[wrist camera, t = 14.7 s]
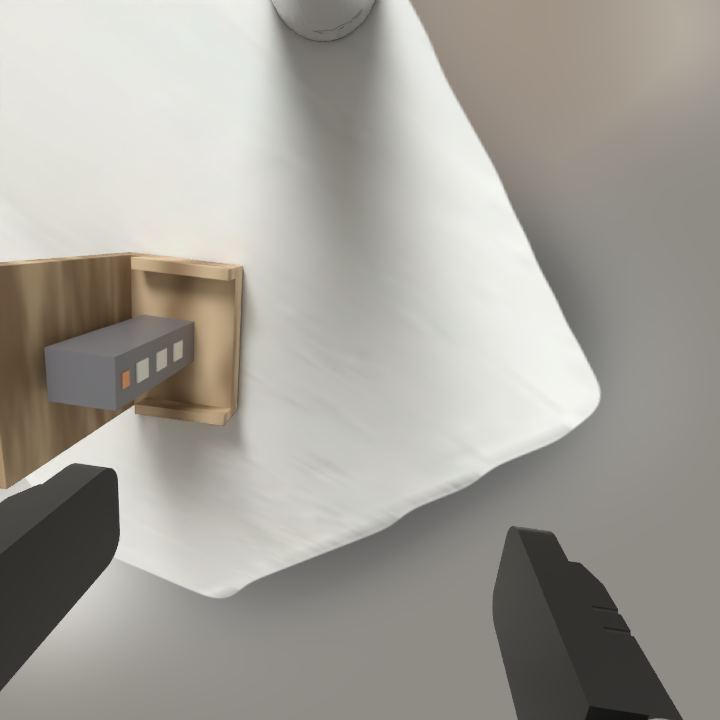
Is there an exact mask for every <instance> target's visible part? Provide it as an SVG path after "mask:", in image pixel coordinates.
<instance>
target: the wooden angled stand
mask: <svg viewBox="0 0 720 720" xmlns="http://www.w3.org/2000/svg"><path fill="white" fill-rule="evenodd" d="M242 274H243V266H238V265H230V264H222V263H213V262H205V261H197V260H189V259H180V258H172V257H164V256H156V255H147V254H139V253H131V252H128V253H115V254H102V255H89V256H77V257H64V258H51V259H38V260H25V261H12V262H0V488H1V489H8V488H9V487H11V486H12V485H14V484H15V483H17V482H18V481H20V480H21V479H23V478H24V477H26V476H27V475H29V474H30V473H32V472H33V471H35V470H37V469H38V468H40V467H41V466H43V465H44V464H46V463H47V462H49V461H50V460H52V459H53V458H55V457H56V456H58V455H59V454H61V453H62V452H64V451H65V450H67V449H68V448H70V447H71V446H73V445H74V444H76V443H77V442H79V441H80V440H82V439H83V438H85V437H86V436H88V435H89V434H91V433H92V432H94V431H95V430H97V429H98V428H100V427H101V426H103V425H104V424H106V423H107V422H109V421H110V420H112V419H113V418H115V417H116V416H118V415H119V414H121V413H122V412H124V411H126V410H127V409H129V408H130V407H132V406H133V405H135V414H141V415H148V416H155V417H163V418H170V419H178V420H185V421H192V422H200V423H207V424H214V425H222V426H223V425H224V424H225V423H226V422H227V421H228V420H229V419H230V418H231V416H232V415H233V414H234V413H235V412H236V411H237V397H238V372H239V348H240V323H241V298H242ZM141 315H150V316H157V317H165V318H172V319H179V320H187V321H194V361H193V362H192V363H190V364H189V365H187V366H186V367H184V368H182V369H181V370H179V371H178V372H176V373H175V374H173V375H172V376H170V377H168V378H167V379H165V380H164V381H162V382H161V383H159V384H158V385H156V386H154V387H153V388H151V389H150V390H148V391H147V392H145V393H144V394H142V395H140V396H139V397H137V398H136V399H134V400H133V401H131V402H130V403H128V404H126V405H125V406H123V407H122V408H120V409H119V410H117V411H112V410H105V409H98V408H91V407H84V406H77V405H70V404H64V403H57V402H50V401H48V392H47V378H46V364H45V350H44V347H47V346H50V345H53V344H56V343H59V342H62V341H65V340H68V339H71V338H74V337H77V336H80V335H83V334H86V333H89V332H92V331H95V330H98V329H101V328H105V327H108V326H111V325H114V324H117V323H120V322H123V321H126V320H129V319H132V318H135V317H138V316H141Z"/></svg>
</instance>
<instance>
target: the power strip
mask: <svg viewBox="0 0 720 720" xmlns="http://www.w3.org/2000/svg"><path fill="white" fill-rule="evenodd" d="M44 350H45V364H46V378H47V392H48V401H50V402H57V403H64V404H70V405H77V406H84V407H91V408H98V409H105V410H112V411H117V410H119V409H120V408H122V407H123V406H125V405H126V404H128V403H130V402H131V401H133V400H134V399H136V398H137V397H139V396H140V395H142V394H144V393H145V392H147V391H148V390H150V389H151V388H153V387H154V386H156V385H158V384H159V383H161V382H162V381H164V380H165V379H167V378H168V377H170V376H172V375H173V374H175V373H176V372H178V371H179V370H181V369H182V368H184V367H186V366H187V365H189V364H190V363H192V362H193V361H194V321H187V320H179V319H172V318H165V317H157V316H150V315H141V316H138V317H135V318H132V319H129V320H126V321H123V322H120V323H117V324H114V325H111V326H108V327H105V328H101V329H98V330H95V331H92V332H89V333H86V334H83V335H80V336H77V337H74V338H71V339H68V340H65V341H62V342H59V343H56V344H53V345H50V346H47V347H44Z"/></svg>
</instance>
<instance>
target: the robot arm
mask: <svg viewBox="0 0 720 720" xmlns="http://www.w3.org/2000/svg"><path fill="white" fill-rule="evenodd" d="M271 1H272V3H273V4H274V6H275V8H276V10H277V12H278V14H279V15H280V17H281V18H282V19H283V21H284V22H285V23H286V24H287V25H288V27H290V28H291V29H292V30H294V31H295V32H296V33H297V34H299V35H301V36H303V37H305V38H308V39H311V40H316V41H332V40H335V39H339V38H342V37H344V36H346V35H347V34H349V33H351V32H353V31H354V30H355V29H356V28H357V27H358V26H359V25H360V24H362V22H363V21H364V20H365V18H366V17H367V16H368V14H369V13H370V11H371V9H372V7H373V5H374V2H375V0H271ZM119 536H120V525H119V499H118V478H117V474H116V472H115V471H114V470H113V469H112V468H105V467H98V466H91V465H84V464H77V463H74V464H71V465H69V466H67V467H66V468H64V469H63V470H62V471H60V472H59V473H57V474H56V475H55V476H53V477H52V478H50V479H49V480H48V481H46V482H45V483H43V484H42V485H41V484H39V485H36V486H34V487H32V488H29V489H27V490H25V491H22V492H20V493H17V494H15V495H13V496H10V497H8V498H7V499H5V500H4V501H2V502H1V503H0V691H1V690H2V689H3V687H4V686H5V685H6V684H7V683H8V682H9V680H10V679H11V678H12V677H13V676H14V675H15V673H16V672H17V671H18V670H19V669H20V667H21V666H22V665H23V664H24V663H25V662H26V661H27V660H28V658H29V657H30V656H31V655H32V654H33V652H34V651H35V650H36V649H37V648H38V647H39V646H40V644H41V643H42V642H43V641H44V640H45V639H46V637H47V636H48V635H49V634H50V633H51V632H52V630H53V629H54V628H55V627H56V626H57V625H58V623H59V622H60V621H61V620H62V619H63V618H64V616H65V615H66V614H67V613H68V612H69V611H70V609H71V608H72V607H73V606H74V605H75V604H76V603H77V601H78V600H79V599H80V598H81V597H82V596H83V594H84V593H85V592H86V591H87V590H88V588H89V587H90V586H91V585H92V584H93V583H94V582H95V580H96V579H97V578H98V577H99V576H100V575H101V573H102V572H103V571H104V570H105V569H106V567H107V566H108V565H109V564H110V562H111V560H112V558H113V557H114V554H115V552H116V549H117V546H118V542H119ZM493 620H494V626H495V630H496V634H497V638H498V642H499V646H500V650H501V654H502V658H503V662H504V666H505V670H506V674H507V678H508V682H509V686H510V689H511V694H512V698H513V702H514V705H515V710H516V714H517V718H518V720H683V719H682V717H681V716H680V714H679V712H678V711H677V709H676V707H675V705H674V704H673V702H672V700H671V699H670V697H669V695H668V694H667V692H666V690H665V688H664V687H663V685H662V683H661V682H660V680H659V678H658V677H657V675H656V673H655V671H654V670H653V668H652V666H651V665H650V663H649V661H648V660H647V658H646V656H645V655H644V653H643V651H642V650H641V648H640V646H639V644H638V643H637V641H636V639H635V638H634V636H631V634H630V629H629V628H628V626H627V624H626V622H625V621H624V619H623V617H622V616H621V615H620V614H618V609H617V607H616V606H615V604H614V602H613V600H612V599H611V597H610V595H609V594H608V592H607V590H606V588H605V587H604V585H603V584H602V583H601V582H600V581H599V580H598V579H596V577H595V576H593V575H592V574H591V573H590V572H589V571H588V570H587V569H586V568H585V567H584V566H583V565H582V564H581V563H577V562H570V561H568V559H567V557H566V555H565V554H564V552H563V550H562V548H561V546H560V544H559V542H558V541H557V538H556V537H555V535H554V534H553V533H552V532H551V531H544V530H537V529H530V528H523V527H516V526H512V527H510V529H509V531H508V533H507V536H506V540H505V545H504V549H503V553H502V557H501V562H500V566H499V570H498V574H497V578H496V583H495V587H494V592H493Z"/></svg>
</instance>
